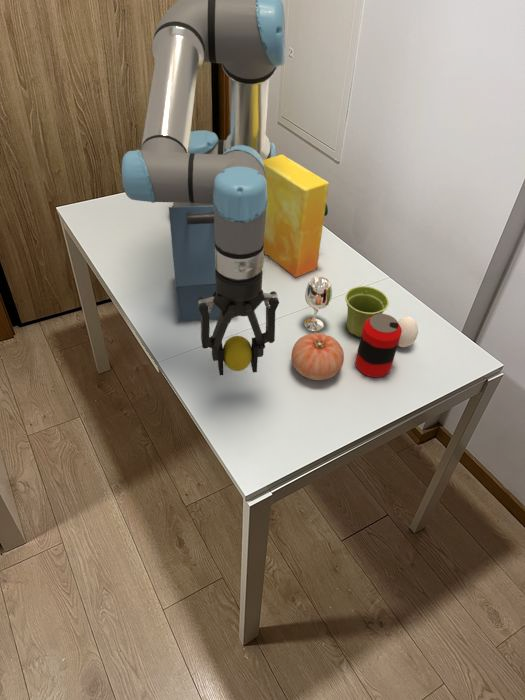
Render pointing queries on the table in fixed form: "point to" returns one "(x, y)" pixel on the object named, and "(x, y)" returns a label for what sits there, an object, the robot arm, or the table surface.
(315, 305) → the wineglass
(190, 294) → the blue-grey hollow box
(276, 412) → the table surface
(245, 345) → the lemon
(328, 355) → the orange pumpkin
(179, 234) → the lid
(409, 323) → the egg
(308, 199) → the mottled yellow carton
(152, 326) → the table surface
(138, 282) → the table surface
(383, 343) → the soda can
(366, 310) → the plant pot
